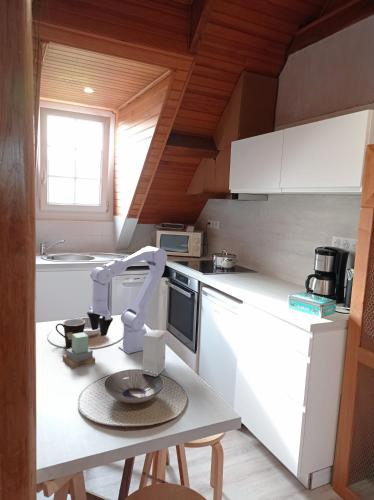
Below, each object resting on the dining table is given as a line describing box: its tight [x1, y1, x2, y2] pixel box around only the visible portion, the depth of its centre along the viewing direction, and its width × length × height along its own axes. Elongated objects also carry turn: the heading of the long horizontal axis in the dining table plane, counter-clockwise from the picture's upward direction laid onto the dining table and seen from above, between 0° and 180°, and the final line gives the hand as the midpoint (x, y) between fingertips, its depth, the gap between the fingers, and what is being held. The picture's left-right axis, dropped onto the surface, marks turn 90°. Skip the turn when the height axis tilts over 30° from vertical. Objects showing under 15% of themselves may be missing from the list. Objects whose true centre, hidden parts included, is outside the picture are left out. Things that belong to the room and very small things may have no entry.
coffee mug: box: [55, 318, 86, 348], centre depth 154 cm, size 12×9×10 cm
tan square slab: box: [62, 353, 96, 369], centre depth 139 cm, size 9×9×2 cm
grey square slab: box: [65, 347, 94, 362], centre depth 139 cm, size 7×7×2 cm
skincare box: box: [141, 328, 167, 375], centre depth 133 cm, size 8×6×15 cm
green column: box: [72, 332, 89, 354], centre depth 138 cm, size 4×4×6 cm
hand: (99, 332), depth 143 cm, fingers open, 7 cm apart
